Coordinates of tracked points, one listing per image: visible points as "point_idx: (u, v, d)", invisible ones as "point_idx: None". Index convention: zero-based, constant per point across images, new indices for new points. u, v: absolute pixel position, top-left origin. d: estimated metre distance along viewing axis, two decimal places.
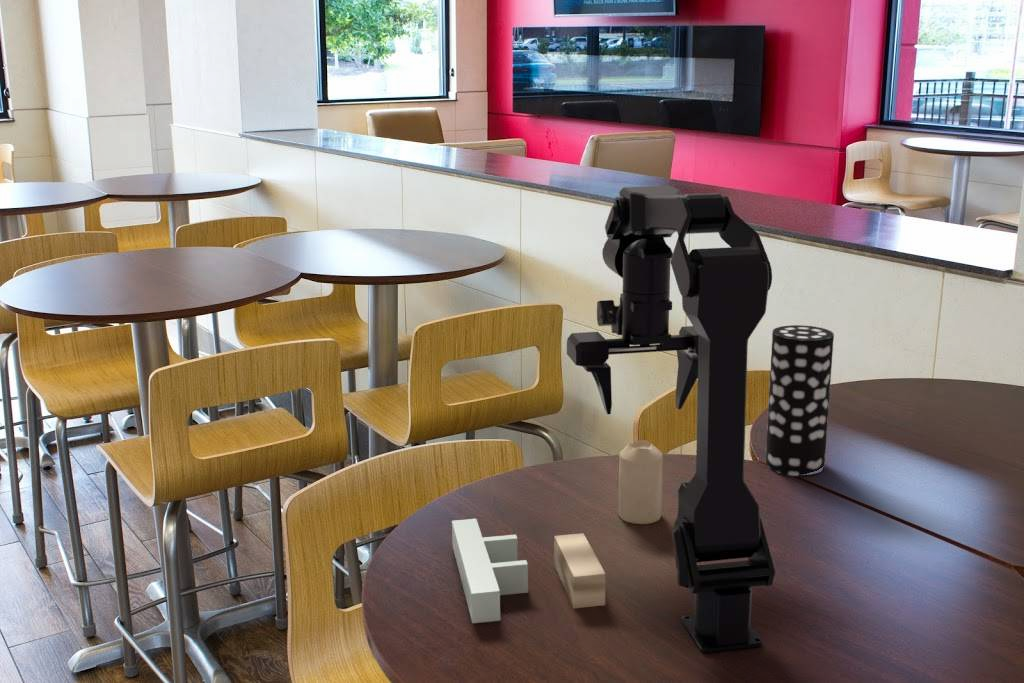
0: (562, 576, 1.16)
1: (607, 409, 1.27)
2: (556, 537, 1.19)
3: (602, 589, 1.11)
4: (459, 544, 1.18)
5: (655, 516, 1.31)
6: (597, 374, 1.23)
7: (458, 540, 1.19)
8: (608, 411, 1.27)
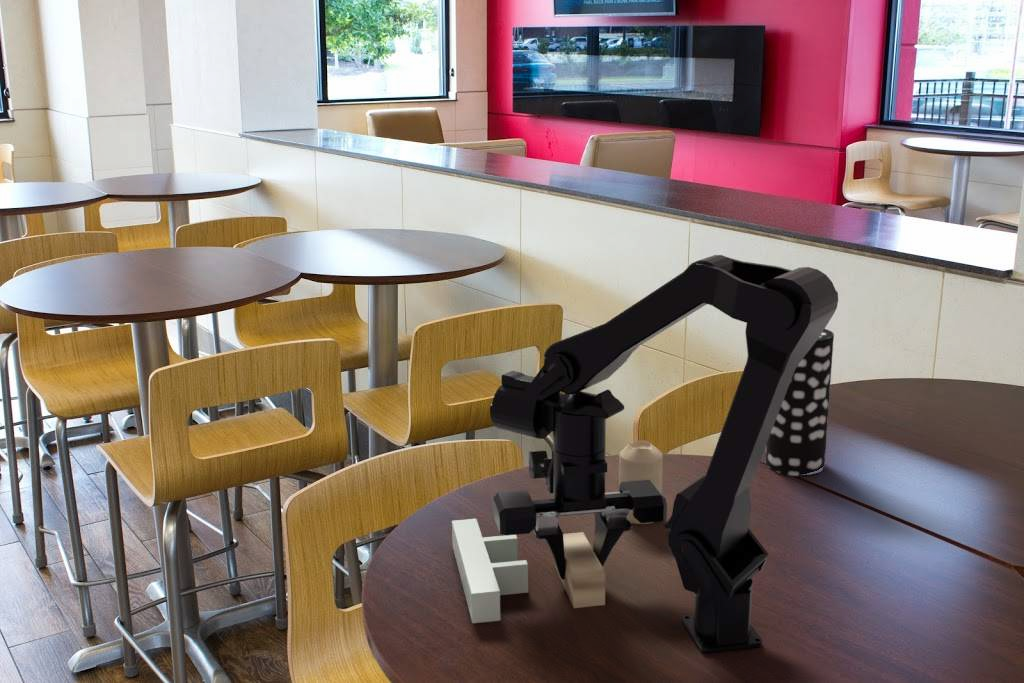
0: None
1: (560, 574, 1.14)
2: None
3: (602, 588, 1.11)
4: (459, 544, 1.18)
5: None
6: (548, 540, 1.11)
7: (458, 540, 1.19)
8: (562, 576, 1.14)
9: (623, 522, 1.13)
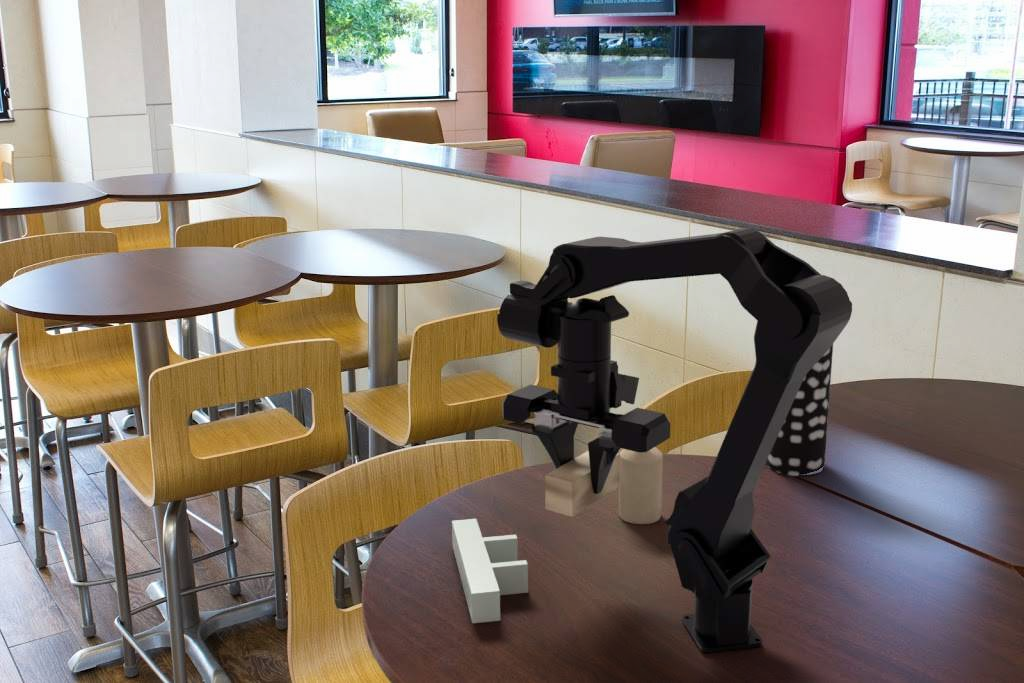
0: None
1: None
2: None
3: (569, 497, 1.09)
4: (459, 544, 1.18)
5: (655, 516, 1.31)
6: (539, 437, 1.13)
7: (458, 540, 1.19)
8: None
9: (611, 443, 1.08)
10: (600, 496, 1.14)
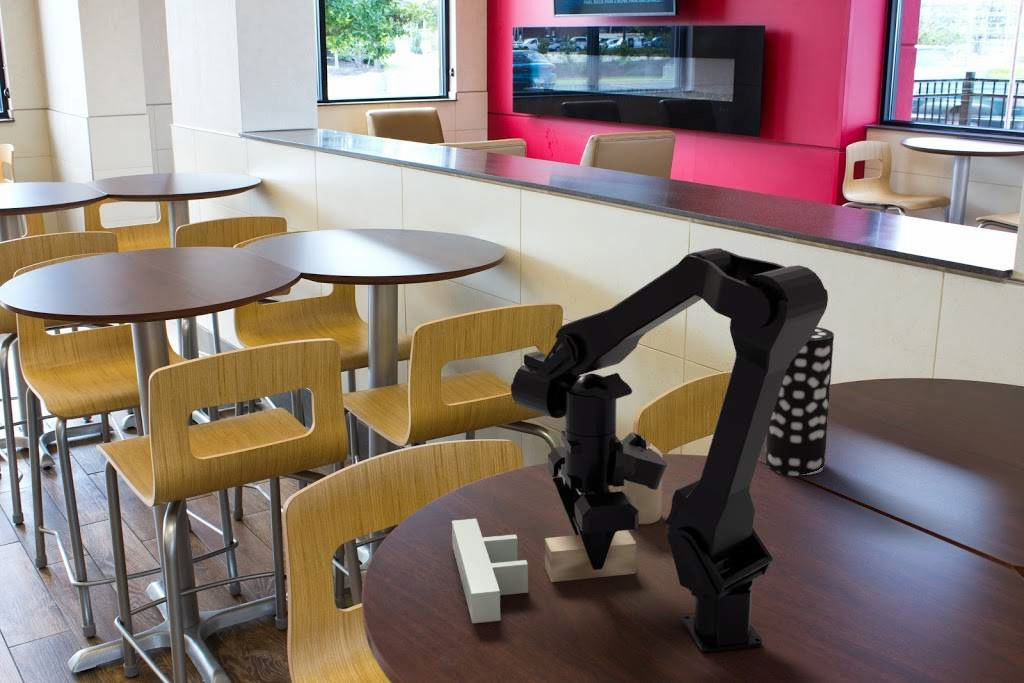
0: None
1: (575, 534, 1.22)
2: (624, 531, 1.20)
3: (550, 565, 1.16)
4: (459, 544, 1.18)
5: (655, 516, 1.31)
6: (556, 488, 1.22)
7: (458, 540, 1.19)
8: None
9: None
10: (600, 576, 1.17)
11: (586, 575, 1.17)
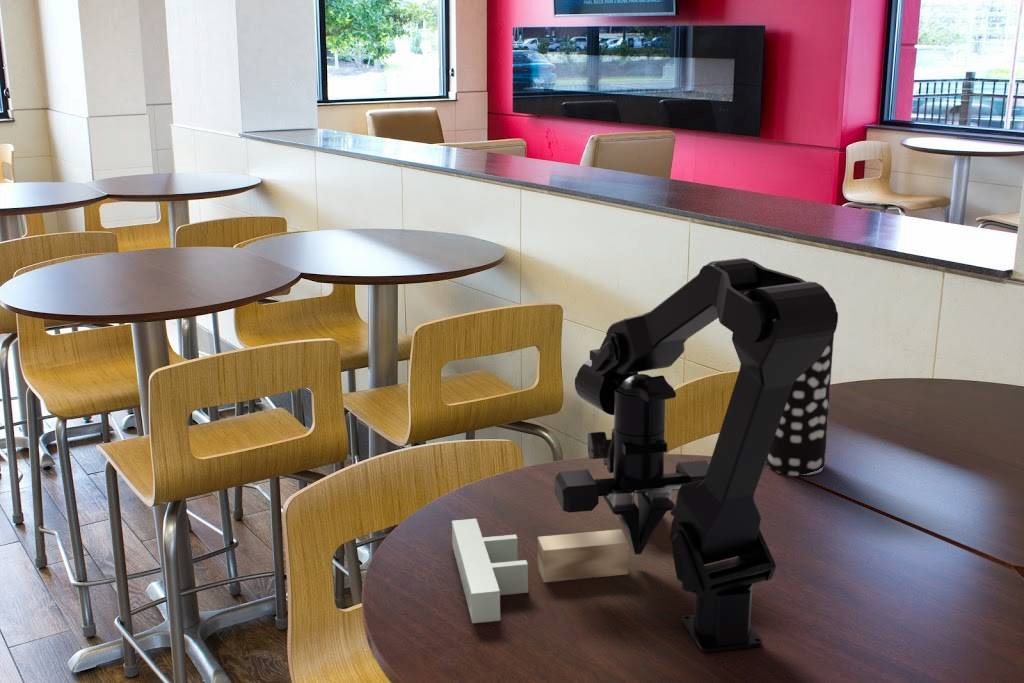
0: None
1: (635, 550, 1.18)
2: (617, 530, 1.20)
3: (543, 564, 1.16)
4: (459, 544, 1.18)
5: None
6: (624, 516, 1.15)
7: (458, 540, 1.19)
8: (636, 552, 1.19)
9: (666, 502, 1.16)
10: (593, 575, 1.17)
11: (579, 574, 1.17)
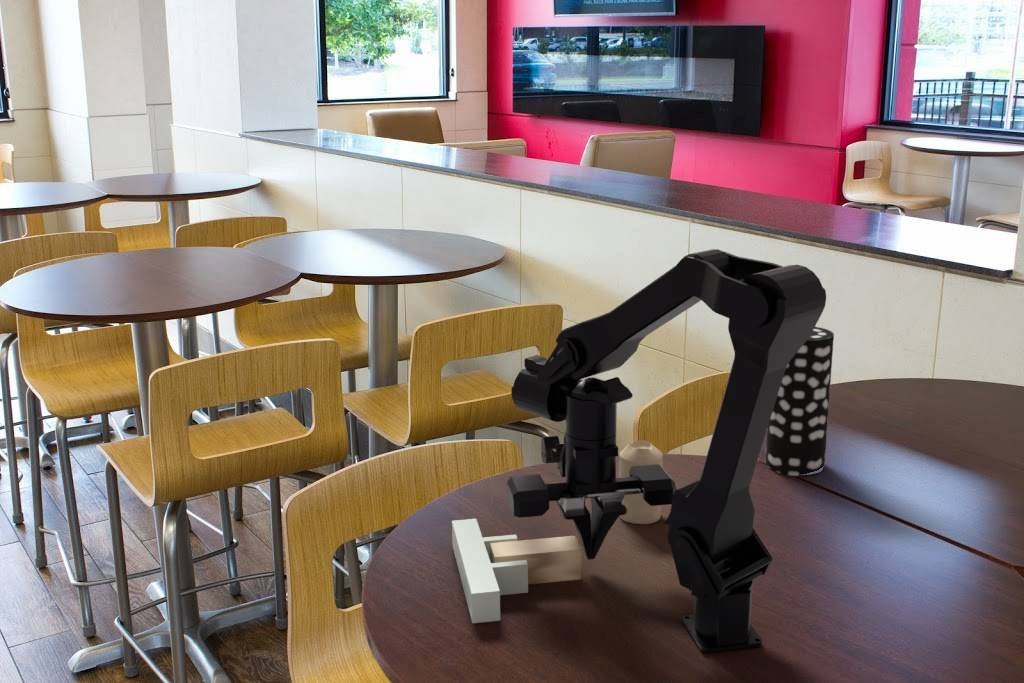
0: None
1: (587, 555, 1.17)
2: (571, 536, 1.19)
3: None
4: (459, 544, 1.18)
5: (655, 516, 1.31)
6: (576, 521, 1.14)
7: (458, 540, 1.19)
8: (588, 557, 1.18)
9: (618, 506, 1.15)
10: (545, 582, 1.16)
11: (530, 581, 1.16)
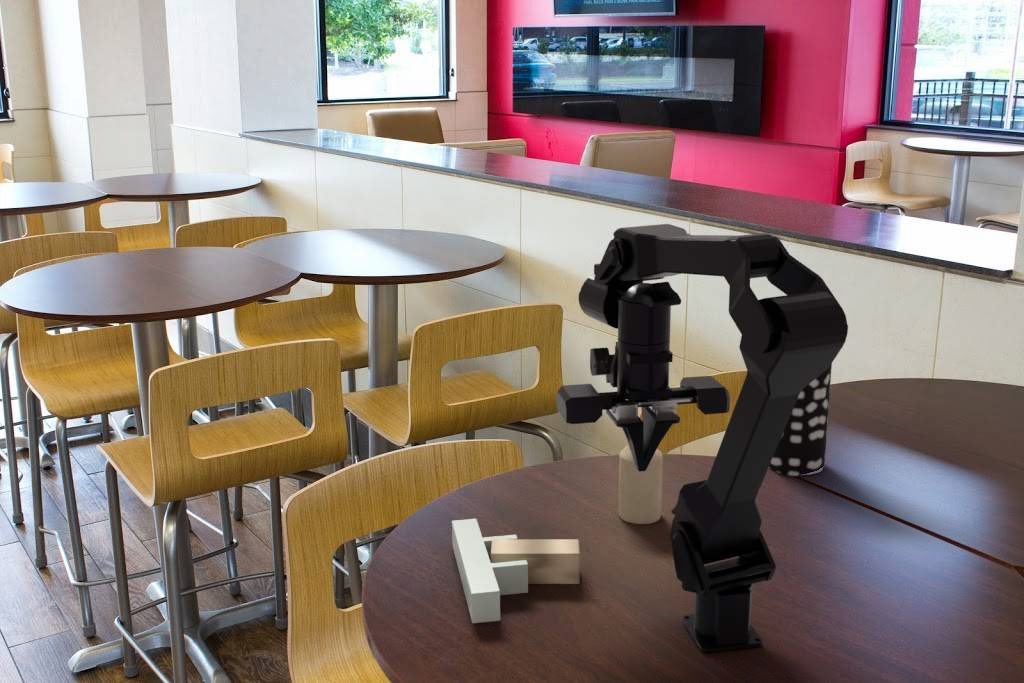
0: None
1: (638, 466, 1.16)
2: (574, 540, 1.18)
3: None
4: (459, 544, 1.18)
5: (655, 516, 1.31)
6: (628, 429, 1.12)
7: (458, 540, 1.19)
8: (639, 468, 1.16)
9: (671, 415, 1.14)
10: (542, 583, 1.16)
11: None
